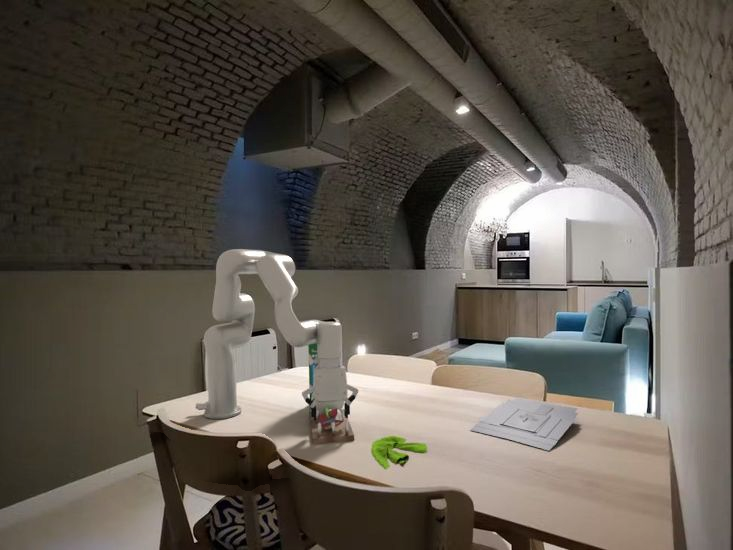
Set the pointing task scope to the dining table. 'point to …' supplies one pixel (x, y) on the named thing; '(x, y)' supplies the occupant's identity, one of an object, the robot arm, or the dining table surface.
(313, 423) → the dish rack
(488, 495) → the dining table surface
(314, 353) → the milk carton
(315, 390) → the robot arm
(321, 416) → the geometric puzzle
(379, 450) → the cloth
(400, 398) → the dining table surface
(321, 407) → the sage plate
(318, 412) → the rack tines
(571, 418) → the papers
